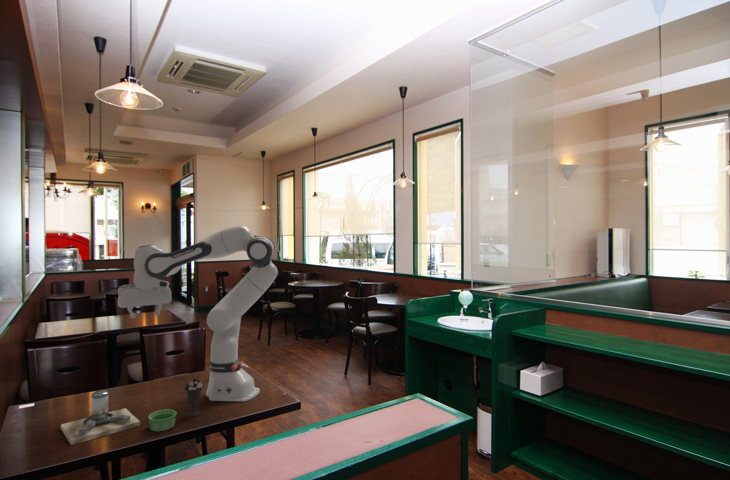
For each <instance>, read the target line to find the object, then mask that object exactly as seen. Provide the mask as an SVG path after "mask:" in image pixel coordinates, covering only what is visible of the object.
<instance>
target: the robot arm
mask: <svg viewBox="0 0 730 480" xmlns="http://www.w3.org/2000/svg"><path fill="white" fill-rule="evenodd" d="M275 248H276V247H275V244H274V242H273V240H271V239H270V238H268V237H266V236H259V235H253V234H252V232H251V230H250V229H249V227H247V226H245V225H237V226H232V227H228V228H225V229H222V230H219V231H217V232H214V233H213V234H210V235H208V236H206V237H205V238H203V239H201V240H199V241H198V242H196V243H194V244H192V245H191V244H190V245H188V246H186V247H183V248H181V249H177V250H175V251H171V252H169V251H166V250H163V249H161V248H159V247H158V246H157V245H155V244H148V245H147V244H146V245H141V246H139V247H137V248H136V249H135V251H134V258H133V268H134V275H133V284H123V285H121V286H119V287H118V288H117V295H118V297H117V307H119V308H121V309H125V308H127V311H128V312H129V313H130V318H131V319H135V318H136V314H137V313H135V312H133V309H134V308H135V307H145V306H146V307H147V306H155V305H157V309H156V310H154V315H155V316H160V314H161V313H160V312H161V310H162V308H163V305H164V304H166V305H167V304H171V303H172V290H171V288H170V287H169V286H170V282H169V281H166V280H163V279H162V278H164V277H168V276H172V275H175V274H177V273H178V272H180V270H181V269H182V266H185V265H186V264H189V263H192V262H194V261H199V260H206V259H207V260H209V259H210V260H211V259H218V258H223V257H227V256H230V255H233V254H235V253H238V252H246V255H247V257H248V259H249V260H250V263H251V264H252V266H253V267H252V268H251V269H250V270H249V271H248V272H247V273H246V274H245V276H244V277H242V278H241V280H240V281H239V282H238V283H237V284H236V285H235V286H234V287H233V288H232V289H231V290H229V292H228V293H227V294H225V296H224V297H223V298H221V300H220V301H218V303H217V304H215V306H214V307H213V308H212V309H210V311H209V312H208V315H207V317H206V324H207V326H208V328H209V329H210V330H211V331H213V333H212V338H211V339H212V340H211V342H210V360H209V369H208V370H209V380H208V386H207V389H206V392H205V396H206V397H207V398H208V400H209V401H212V402H248V401H250V400H252V399H254V398H255V397H257V396H258V395H259V394H260V393H261V390H260V388H259V387H256V386H255V380H254V377H253V376H251V375H250V374H249V373H248V372H247V371H245V369H243V368H242V366H241V365H243V364H244V361H240V360H239V358H238V353H239V352H238V351H239V350H238V349H239V337H240V336H239V335H240V330H241V322H242V321H241V319H242V316H243V315H244V314H245V313H247V311H248V310H249V309H250V308H251V307H252V306H253V305H254V304H255V303H256V302H257V301H258V300H259V299H260V298H261V297H262V295H264V294H265V292H266V291H267V290H268V289H269V288H270V286H271V285H272V284H273V283H274V281H275V280H276V278H277V277H278V273H279V272H278V271H279V270H278V268H277V266H276V265H275V264H274V263H273V261H272V259H273V256H274V254H275V250H276V249H275Z"/></svg>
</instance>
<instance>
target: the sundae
mask: <svg viewBox="0 0 730 480" xmlns="http://www.w3.org/2000/svg"><path fill="white" fill-rule="evenodd" d="M201 374H202V373H199V375H197V376H196V377H193V379H192V380H190V381H189V383H187V382H185V383H184V384H185V385H186V386H185V388H184V389H183V390H184V391H186V395H187V402H188V404H190V405H191V410H190V411H189V412H187V413H186V416H187V417H192V418H193V417H196V416H199V415H201V413H202V412H201V411H200V410H197V409H196V408H197V407H196V405H197V404H199V402H200V401H201V400H200V399H201V393H202V390H203V388H205V386H204V385H203V384H202V382H201V380H200V375H201ZM197 378H198V379H197Z"/></svg>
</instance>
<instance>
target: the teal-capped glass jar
mask: <svg viewBox="0 0 730 480" xmlns="http://www.w3.org/2000/svg"><path fill="white" fill-rule="evenodd" d="M109 394H110V391H109V390H108V389H101V390H96V391H94V392H92V393H90V395H91V396H90V397H91V402H90V403H91V404H90V405H91V407H90V409H91V410H90V416H91V421H95V423H99V422H103V421H107V420H108V412H109Z"/></svg>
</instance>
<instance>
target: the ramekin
mask: <svg viewBox="0 0 730 480" xmlns="http://www.w3.org/2000/svg"><path fill="white" fill-rule="evenodd" d="M176 416H177V410H174V409H171V408H169V409H168V408H167V409H166V408H165V409H160V410H156V411H153V412H152V413H150V414H149V415H148V417H147V418H148V425H149V430H150V431H152V432H164V431H168V430H170V429H172V428H173V427H175V425H176Z"/></svg>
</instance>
